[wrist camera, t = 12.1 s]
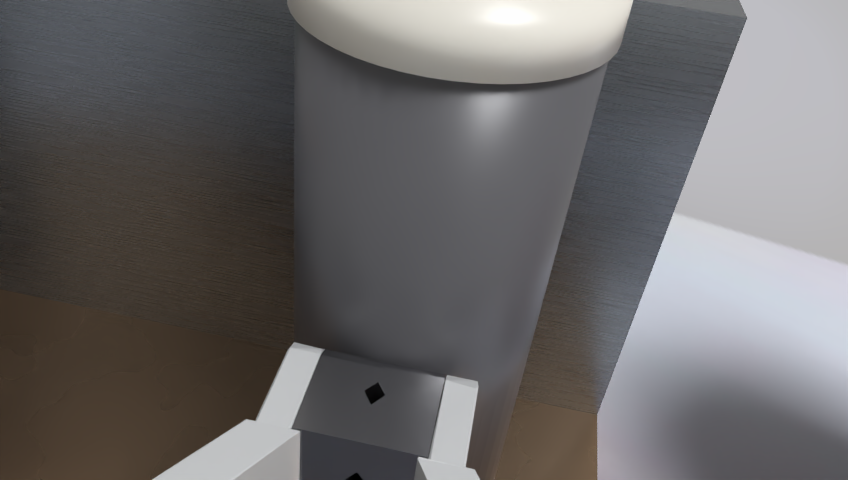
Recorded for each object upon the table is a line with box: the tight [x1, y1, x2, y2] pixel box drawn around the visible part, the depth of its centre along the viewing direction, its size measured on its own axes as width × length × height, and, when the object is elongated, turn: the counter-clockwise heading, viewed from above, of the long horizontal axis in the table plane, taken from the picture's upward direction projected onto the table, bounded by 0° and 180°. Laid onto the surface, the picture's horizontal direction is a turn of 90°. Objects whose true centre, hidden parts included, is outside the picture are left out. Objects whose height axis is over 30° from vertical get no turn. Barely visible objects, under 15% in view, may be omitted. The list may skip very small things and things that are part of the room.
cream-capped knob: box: [287, 0, 633, 480], centre depth 16 cm, size 5×12×11 cm, turn 170°
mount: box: [0, 0, 747, 480], centre depth 15 cm, size 23×14×11 cm, turn 80°
